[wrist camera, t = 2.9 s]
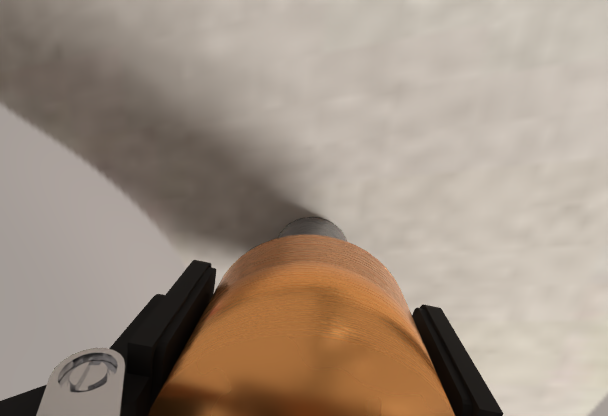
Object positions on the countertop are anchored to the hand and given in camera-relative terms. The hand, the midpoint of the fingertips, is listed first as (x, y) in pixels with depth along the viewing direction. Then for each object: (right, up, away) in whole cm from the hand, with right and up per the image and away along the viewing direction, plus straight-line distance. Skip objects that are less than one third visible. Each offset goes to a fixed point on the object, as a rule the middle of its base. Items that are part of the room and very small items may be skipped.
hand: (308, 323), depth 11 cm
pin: (0, +2, +5) cm, 5 cm away
